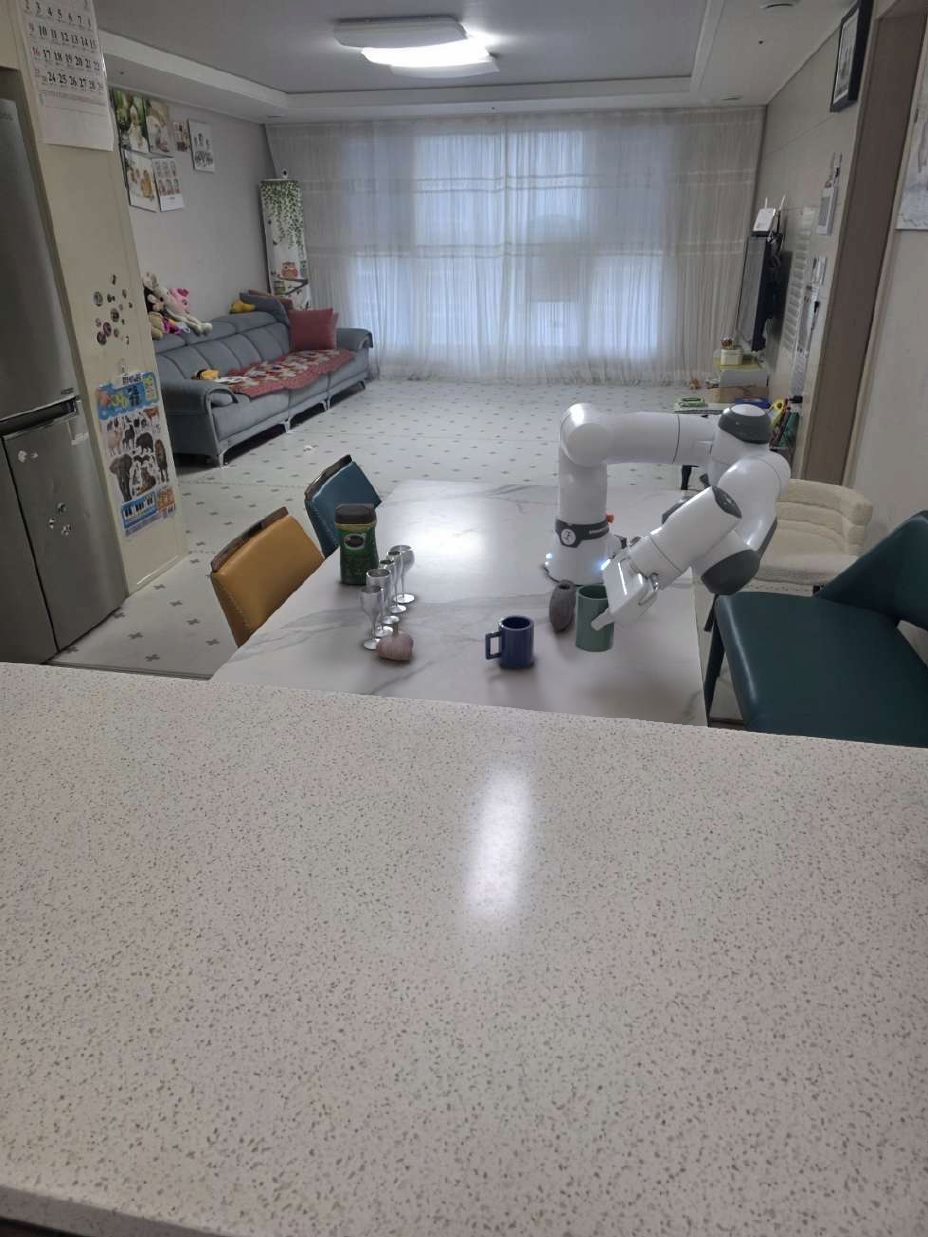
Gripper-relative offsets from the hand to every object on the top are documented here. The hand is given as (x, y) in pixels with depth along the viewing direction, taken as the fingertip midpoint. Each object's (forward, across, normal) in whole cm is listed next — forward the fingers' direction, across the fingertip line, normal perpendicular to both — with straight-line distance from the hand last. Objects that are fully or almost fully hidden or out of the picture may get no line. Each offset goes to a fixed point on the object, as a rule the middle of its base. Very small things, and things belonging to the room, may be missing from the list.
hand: (591, 615), depth 144 cm
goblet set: (+38, +25, +19) cm, 49 cm away
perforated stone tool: (+12, +26, -6) cm, 29 cm away
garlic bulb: (+35, +8, +16) cm, 40 cm away
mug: (+20, +7, +1) cm, 21 cm away
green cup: (+3, 0, -4) cm, 5 cm away
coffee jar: (+46, +47, +27) cm, 71 cm away
